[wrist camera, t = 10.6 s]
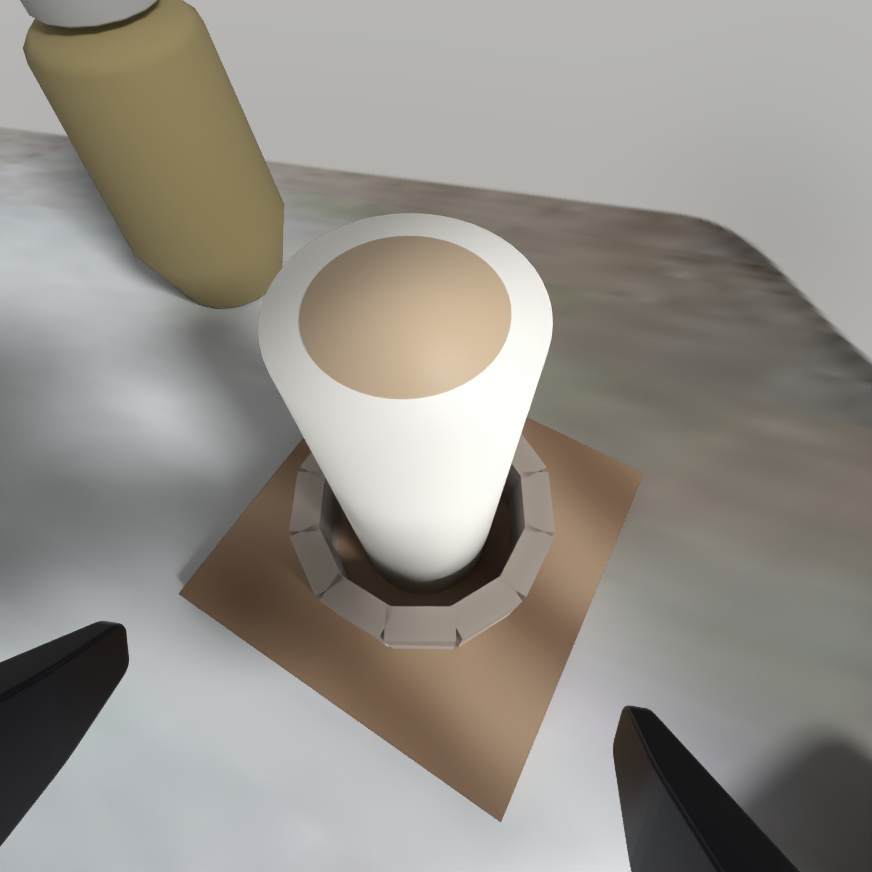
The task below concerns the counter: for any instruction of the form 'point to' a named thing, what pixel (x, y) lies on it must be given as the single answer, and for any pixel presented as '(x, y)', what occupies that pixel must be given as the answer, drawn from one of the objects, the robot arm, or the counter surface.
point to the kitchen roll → (410, 380)
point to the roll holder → (428, 608)
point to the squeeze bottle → (162, 140)
